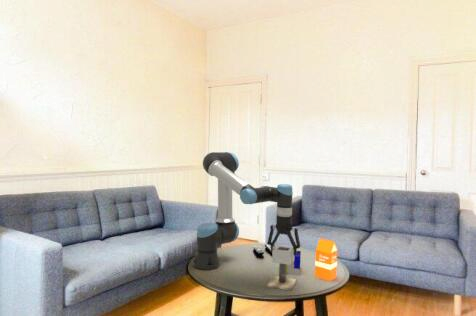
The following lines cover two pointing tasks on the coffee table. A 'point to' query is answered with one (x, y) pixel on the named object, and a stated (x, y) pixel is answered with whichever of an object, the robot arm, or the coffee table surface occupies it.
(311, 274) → the coffee table surface
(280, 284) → the shaft block
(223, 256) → the coffee table surface
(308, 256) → the coffee table surface
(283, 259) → the frame
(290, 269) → the puzzle toy
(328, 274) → the orange juice
